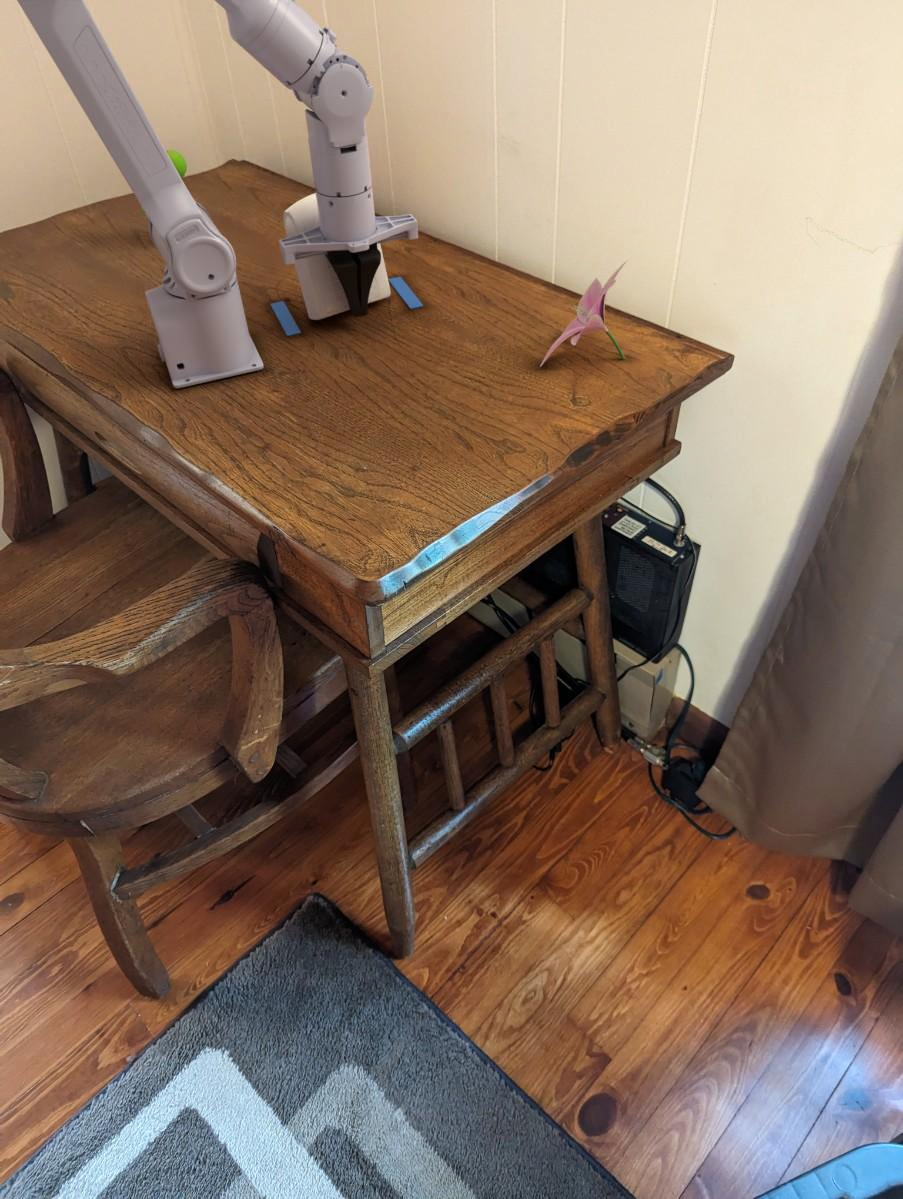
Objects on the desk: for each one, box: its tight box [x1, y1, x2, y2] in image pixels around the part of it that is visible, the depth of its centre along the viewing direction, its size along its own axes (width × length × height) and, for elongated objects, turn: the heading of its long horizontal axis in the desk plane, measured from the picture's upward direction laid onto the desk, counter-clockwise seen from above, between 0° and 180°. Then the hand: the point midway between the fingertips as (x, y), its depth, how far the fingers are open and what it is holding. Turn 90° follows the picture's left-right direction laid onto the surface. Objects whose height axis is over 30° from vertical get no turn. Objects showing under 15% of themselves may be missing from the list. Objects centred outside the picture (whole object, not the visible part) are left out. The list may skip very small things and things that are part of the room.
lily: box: [539, 260, 628, 368], centre depth 89 cm, size 12×12×10 cm
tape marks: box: [269, 276, 424, 337], centre depth 101 cm, size 16×8×1 cm, turn 112°
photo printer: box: [282, 192, 392, 321], centre depth 96 cm, size 10×4×12 cm, turn 124°
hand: (358, 312), depth 97 cm, fingers closed
